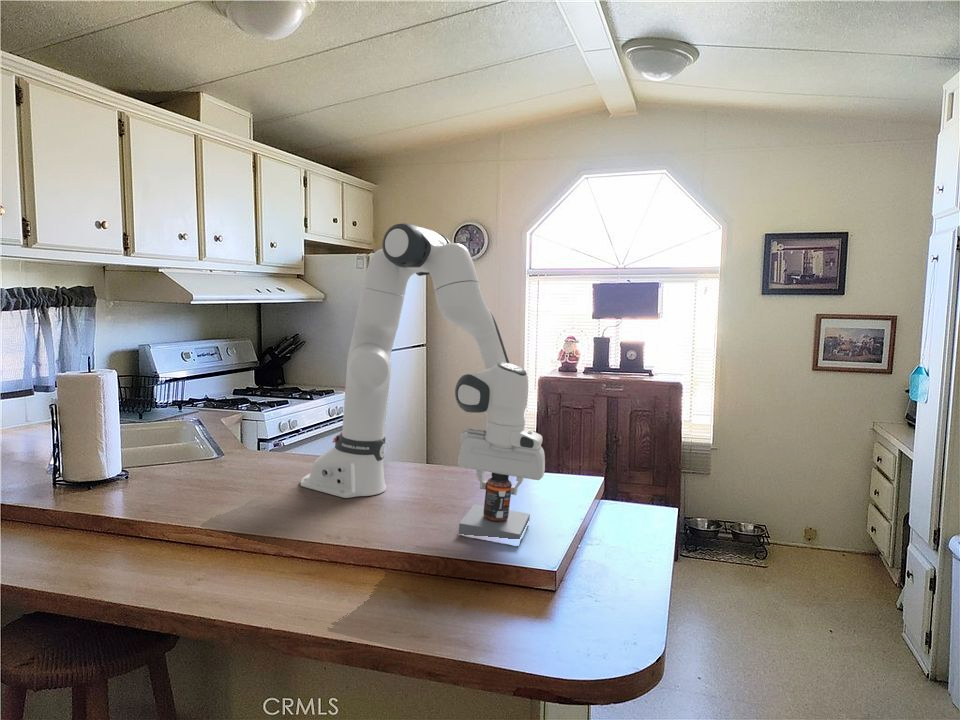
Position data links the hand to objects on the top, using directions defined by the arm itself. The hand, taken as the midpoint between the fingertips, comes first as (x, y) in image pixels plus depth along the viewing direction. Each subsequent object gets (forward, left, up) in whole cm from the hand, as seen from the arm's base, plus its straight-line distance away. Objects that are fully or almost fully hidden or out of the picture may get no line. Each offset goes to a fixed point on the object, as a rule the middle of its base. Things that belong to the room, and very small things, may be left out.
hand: (498, 491), depth 150 cm
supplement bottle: (0, 0, -7) cm, 7 cm away
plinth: (0, 0, -10) cm, 10 cm away
